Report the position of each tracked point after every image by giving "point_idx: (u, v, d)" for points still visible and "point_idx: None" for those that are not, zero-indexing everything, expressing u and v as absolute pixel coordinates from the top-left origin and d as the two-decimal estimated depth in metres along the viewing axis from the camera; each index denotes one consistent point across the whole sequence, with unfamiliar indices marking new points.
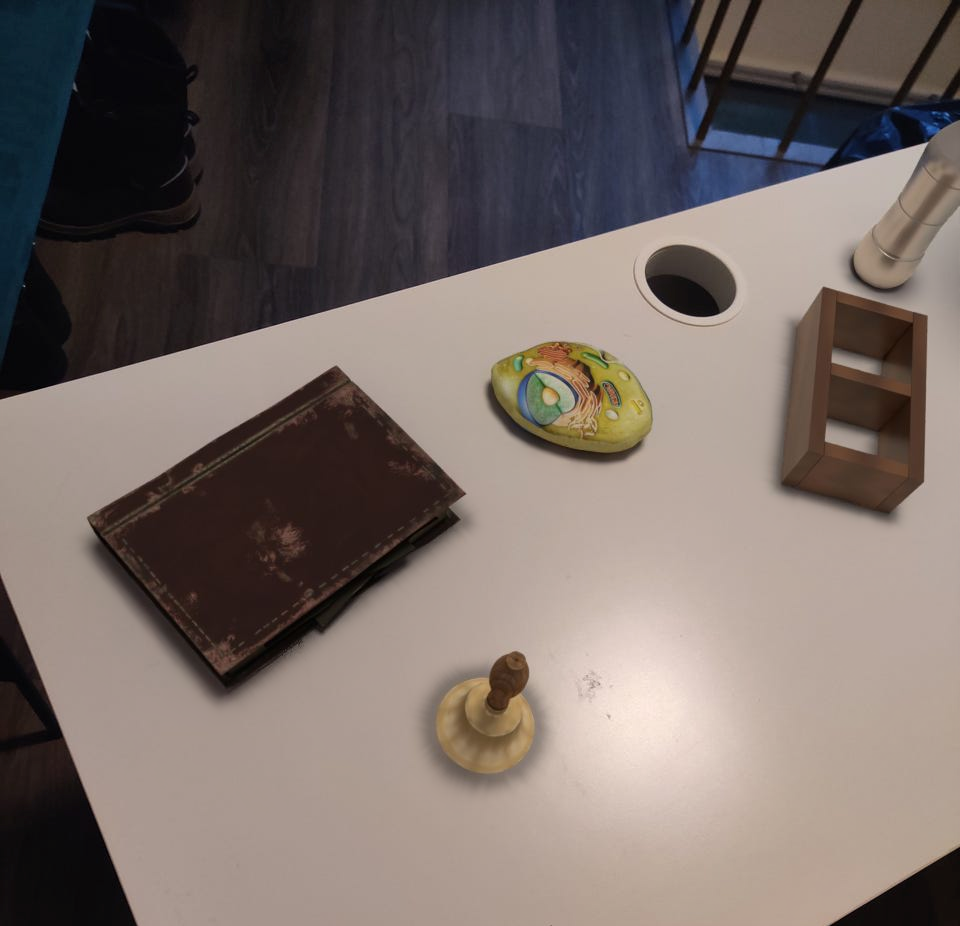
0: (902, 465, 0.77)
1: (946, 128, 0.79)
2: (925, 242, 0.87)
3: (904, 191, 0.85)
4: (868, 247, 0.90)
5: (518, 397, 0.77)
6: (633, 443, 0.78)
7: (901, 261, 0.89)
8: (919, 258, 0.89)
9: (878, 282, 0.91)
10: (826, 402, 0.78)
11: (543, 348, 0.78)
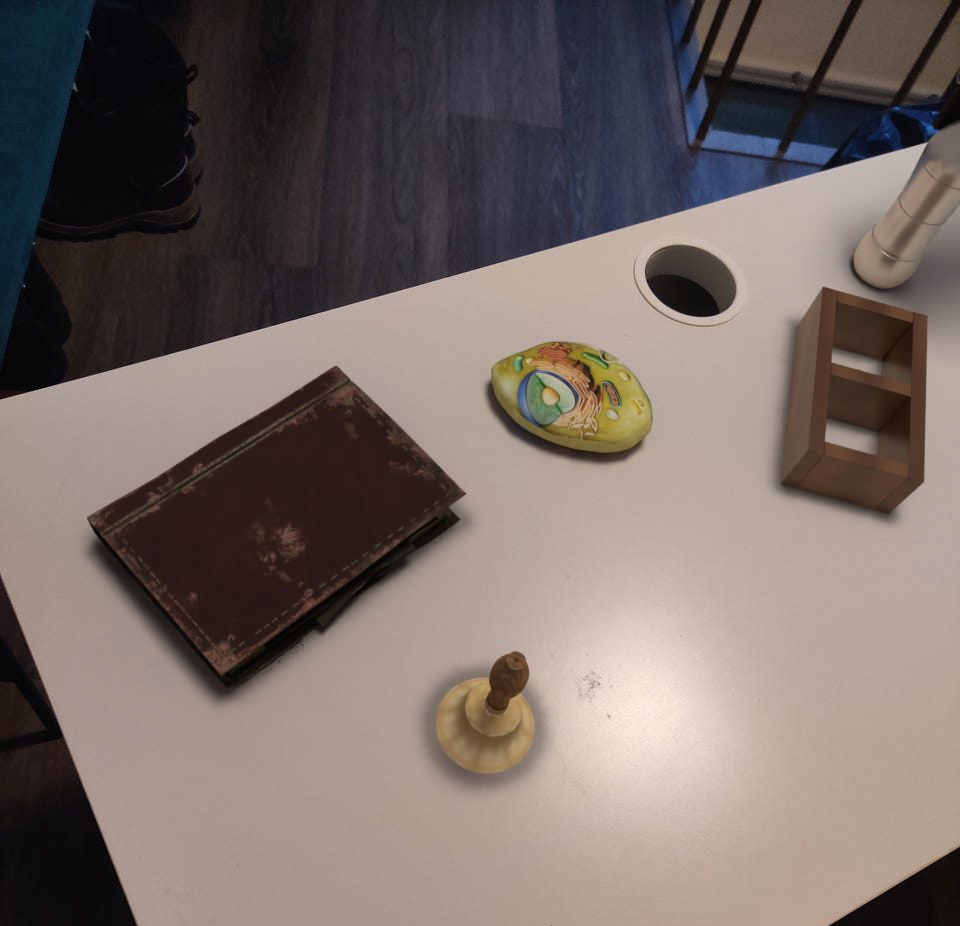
0: (902, 465, 0.77)
1: (945, 128, 0.80)
2: (925, 242, 0.87)
3: (904, 191, 0.85)
4: (868, 247, 0.90)
5: (518, 397, 0.77)
6: (633, 443, 0.78)
7: (901, 261, 0.89)
8: (919, 258, 0.89)
9: (878, 282, 0.91)
10: (826, 402, 0.78)
11: (543, 348, 0.78)
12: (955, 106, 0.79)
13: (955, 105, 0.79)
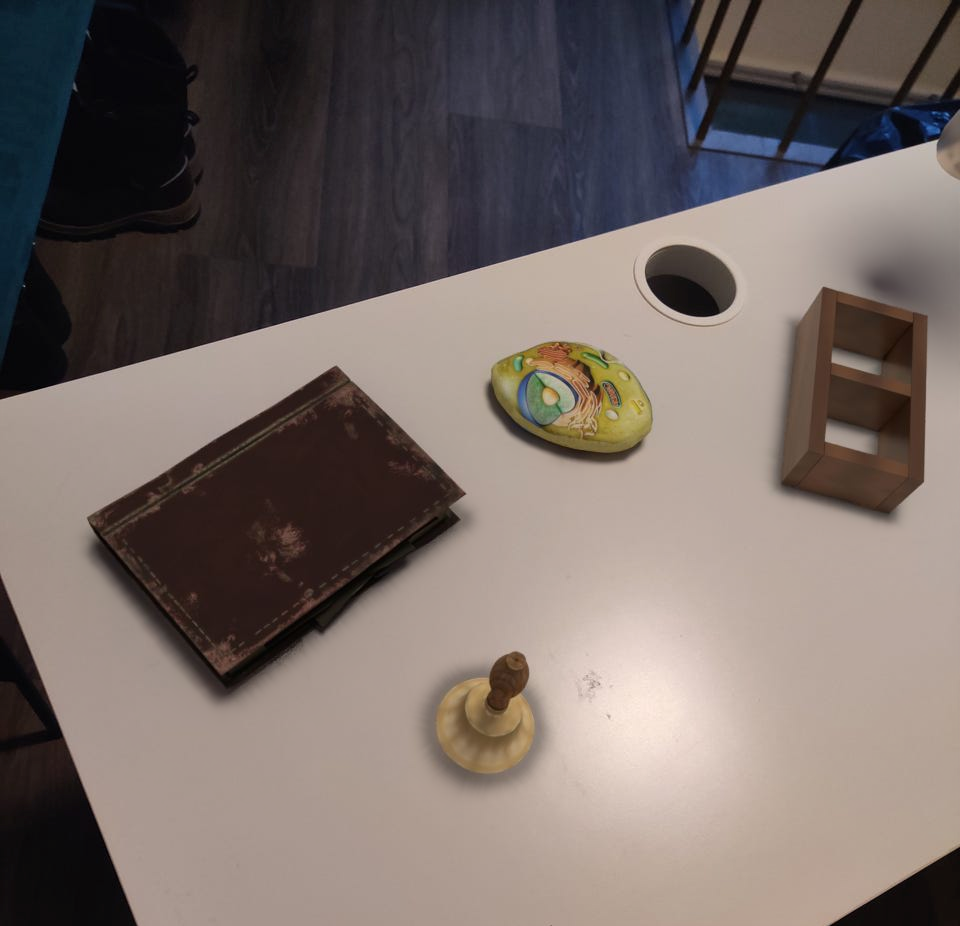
0: (902, 465, 0.77)
1: None
2: None
3: None
4: (956, 130, 0.76)
5: (518, 397, 0.77)
6: (633, 443, 0.78)
7: None
8: None
9: None
10: (826, 402, 0.78)
11: (543, 348, 0.78)
12: None
13: None
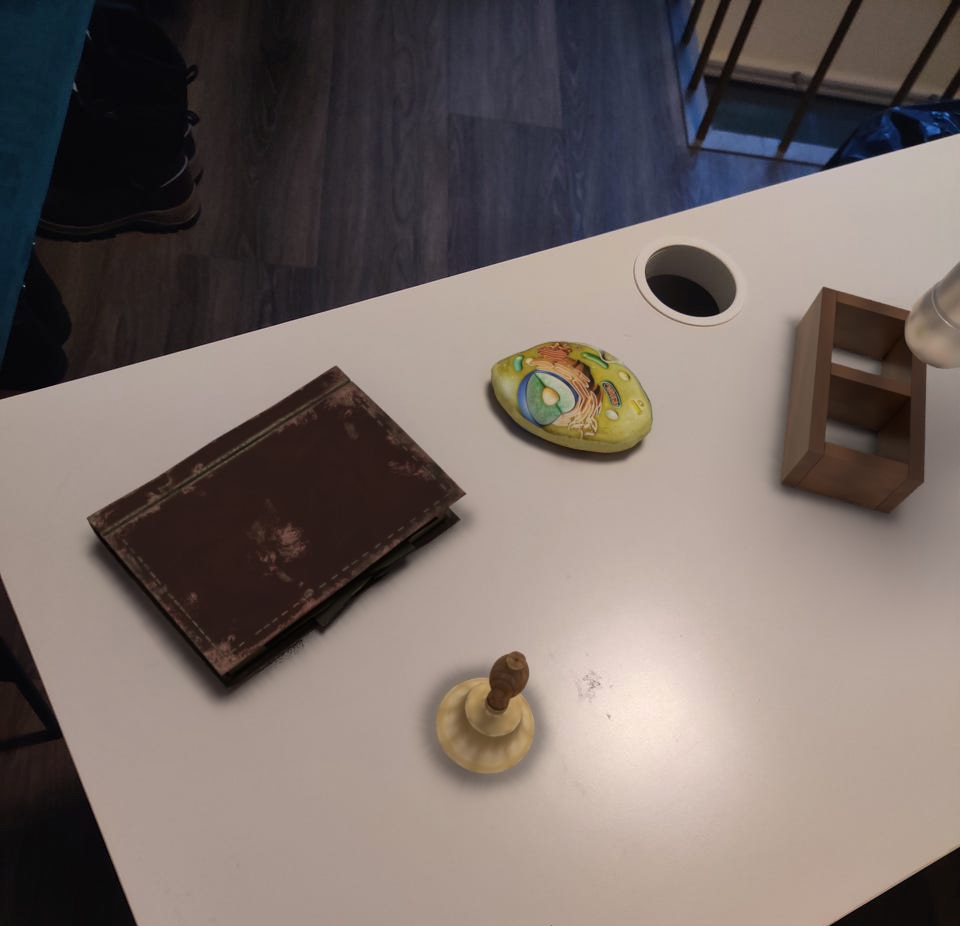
0: (902, 465, 0.77)
1: None
2: None
3: None
4: (924, 301, 0.66)
5: (518, 397, 0.77)
6: (633, 443, 0.78)
7: (957, 330, 0.64)
8: None
9: (923, 352, 0.67)
10: (826, 402, 0.78)
11: (543, 348, 0.78)
12: None
13: None
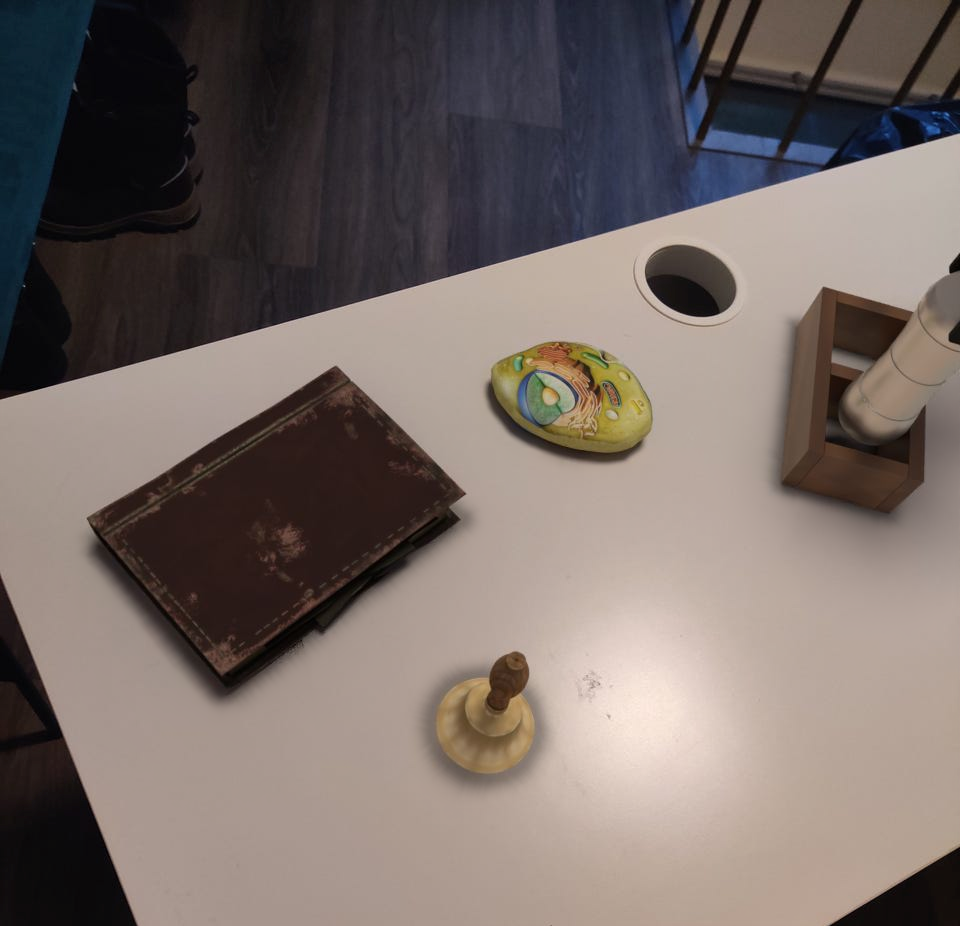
0: (902, 465, 0.77)
1: (954, 272, 0.65)
2: (909, 402, 0.72)
3: (899, 334, 0.70)
4: (853, 388, 0.76)
5: (518, 397, 0.77)
6: (633, 443, 0.78)
7: (880, 415, 0.74)
8: (904, 420, 0.74)
9: (853, 431, 0.77)
10: (826, 402, 0.78)
11: (543, 348, 0.78)
12: None
13: None
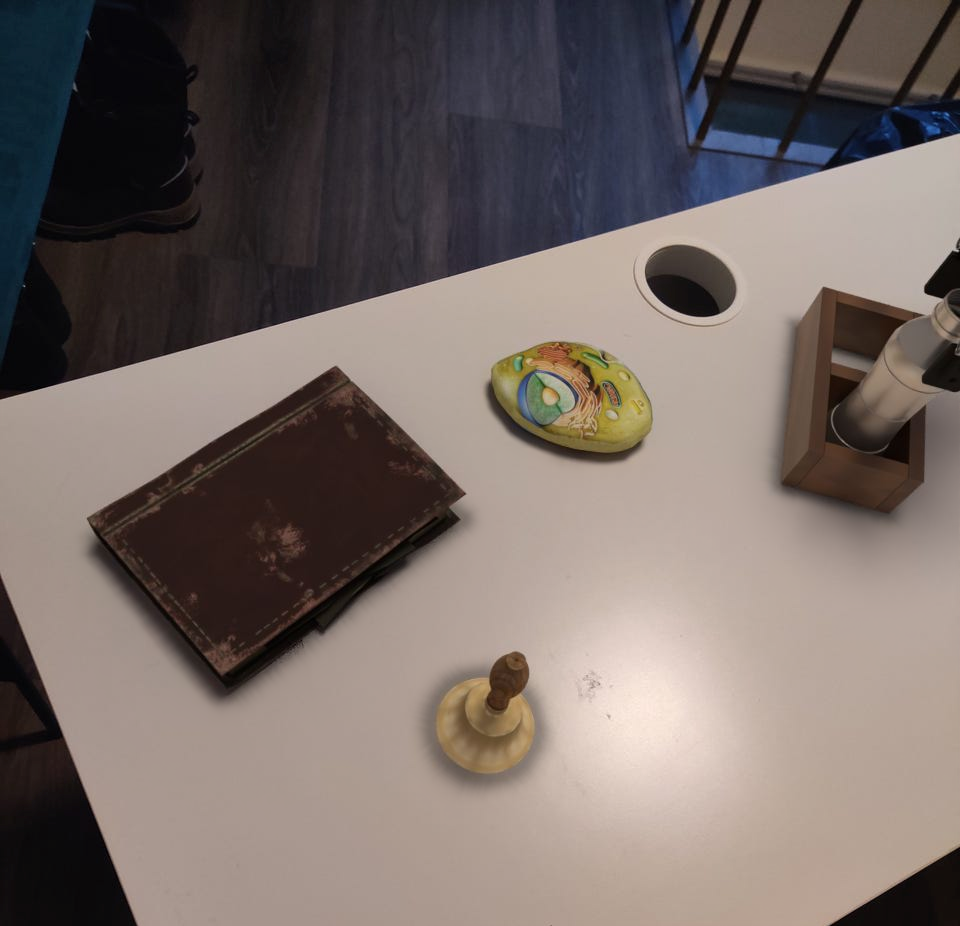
0: (902, 465, 0.77)
1: (917, 318, 0.69)
2: (878, 436, 0.76)
3: (867, 373, 0.75)
4: None
5: (518, 397, 0.77)
6: (633, 443, 0.78)
7: (851, 447, 0.78)
8: (873, 452, 0.78)
9: None
10: (826, 402, 0.78)
11: (543, 348, 0.78)
12: (948, 273, 0.68)
13: (948, 272, 0.68)
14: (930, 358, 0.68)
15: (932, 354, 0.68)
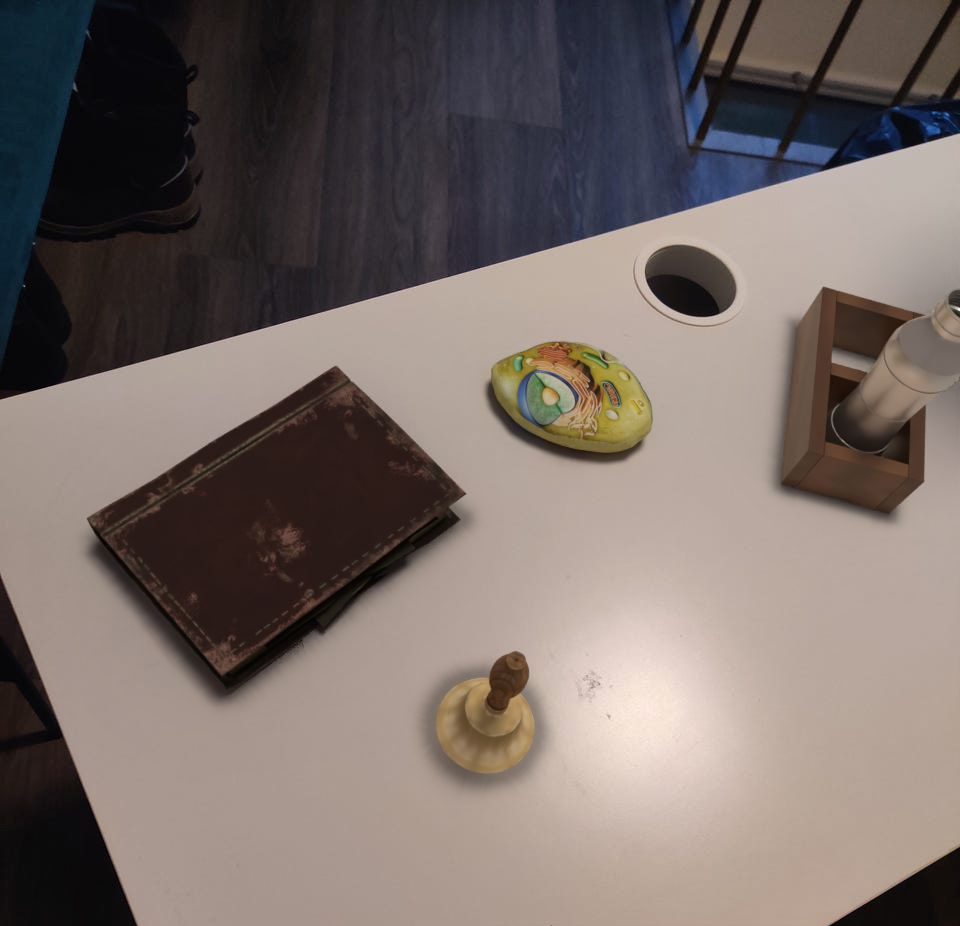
0: (902, 465, 0.77)
1: (917, 318, 0.69)
2: (878, 436, 0.76)
3: (867, 373, 0.75)
4: None
5: (518, 397, 0.77)
6: (633, 443, 0.78)
7: (851, 447, 0.78)
8: (873, 452, 0.78)
9: None
10: (826, 402, 0.78)
11: (543, 348, 0.78)
12: None
13: None
14: (930, 358, 0.68)
15: (932, 354, 0.68)
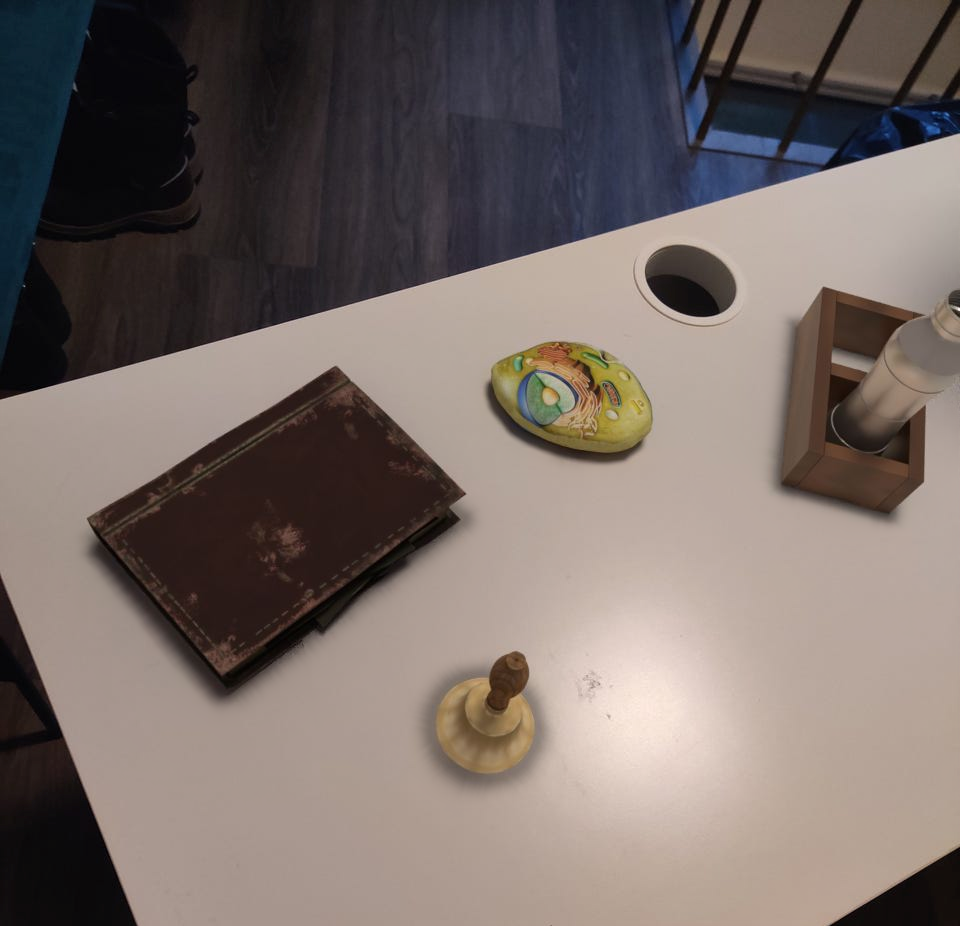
0: (902, 465, 0.77)
1: (917, 318, 0.69)
2: (878, 436, 0.76)
3: (867, 373, 0.75)
4: None
5: (518, 397, 0.77)
6: (633, 443, 0.78)
7: (851, 447, 0.78)
8: (873, 452, 0.78)
9: None
10: (826, 402, 0.78)
11: (543, 348, 0.78)
12: None
13: None
14: (930, 358, 0.68)
15: (932, 354, 0.68)
